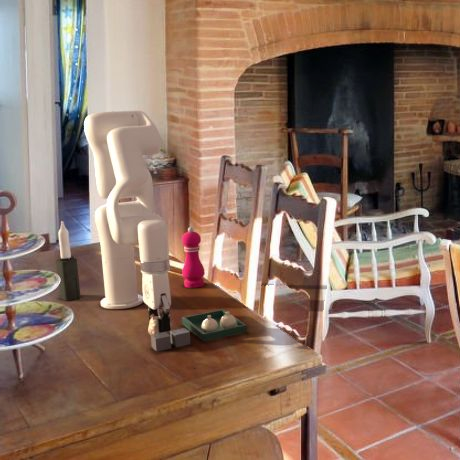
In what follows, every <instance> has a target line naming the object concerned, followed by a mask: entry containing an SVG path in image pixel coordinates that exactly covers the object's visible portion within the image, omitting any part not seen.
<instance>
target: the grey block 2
mask: <svg viewBox="0 0 460 460" xmlns="http://www.w3.org/2000/svg"><path fill="white" fill-rule="evenodd" d="M169 335H170V336H171V345H172V346H174V347H175V348H178V347H183V346H187V345H191V331H190V330H189V329H188V328H186V327H181V328H177V329H171V331H170V333H169Z"/></svg>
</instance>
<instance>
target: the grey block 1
mask: <svg viewBox="0 0 460 460" xmlns="http://www.w3.org/2000/svg"><path fill="white" fill-rule="evenodd" d="M150 342H151V348H152V349H153V350H154V351H155V352H161V351H164V350H170V349H172V343H171V336H170V333H169V334H168V333H166V332H162V333H157V334H152V335H150Z"/></svg>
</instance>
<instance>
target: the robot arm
mask: <svg viewBox="0 0 460 460" xmlns="http://www.w3.org/2000/svg"><path fill="white" fill-rule="evenodd" d="M83 126H84V127H83V128H84V134H85V137H86V140H87V142H88V144H89V146H90V148H91V152H92V154H93V159H94V160H93V162H94V169H95V180H96V188H97V192H98V195H99V197H100V198H101V199H103V200H107V202H106V204H104V205H101V206H100V207H98V208H97V209H96V211H95V213H94V221H95V226H96V230H97V234H98V237H99V238H98V239H99V243H100V253H101V262H102V263H101V264H102V273H103V285H104V296H105V297H104V298H102V299H101V300H100V306H101V308H104V309H107V310H125V309H131V308H134V307H137V306H140V305H142V304H143V303H144V304H145V305H146V306H147V309H148V312H147V313H148V323H150V319H151V318H152V317H150V316H151V315H152V314H153V315H154V316H158V317H159V318H158V332H159V333H162V332H167V331H170V330H172V329H171V327H170V322H171V305H172V297H171V287H170V278H169V273H168V272H169V271H171V263H170V262H171V261H170V248H169V234H168V225H167V222H166V221H165V219H164V218H162V216H161V215H160V214H158V213H156V203H155V191H154V182H153V178H152V175H151V172H150V171H149V169H148V168H147V167H146V162H145V159H144V156H151V155H158V154H159V153H160V152H161V150H162V143H163V142H162V138H161V133H160V132H159V129H158V128H157V125H155V123H154V122H153V120H152V119H151V118H150V116H149V115H148V114H147V113H146V112H145V111H142V110H118V111H114V110H113V111H101V112H100V111H99V112H93V113H91V114H88V115H87V116H86V117H85V119H84V122H83ZM131 198H136V200H134V201H126V202H125V201H124V202H123V201H121V202H120V200H121V199H122V200H123V199H131ZM133 244H138V250H139V264H140V273H141V274H142V276H141V278H142V279H141V283H142V295H141V294H139V290H138V289H139V288H138V279H137V278H138V277H137V267H136V266H137V265H136V255H135V248H134V245H133ZM161 310H162V311H161Z"/></svg>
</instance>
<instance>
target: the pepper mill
mask: <svg viewBox="0 0 460 460" xmlns="http://www.w3.org/2000/svg"><path fill="white" fill-rule="evenodd" d="M201 240H202V237H201V235H200V234H199V232H197V231H194V227H192V226H190V227H188V228H187V232H185V233H184V234H183V235H182V236H181V243H182V244H183V245H184V246H183V251H184V252H185V261H184V264H183V267H182V271H181V274H182V277H183V278H184V281H183V282H184V283H183V284H184V288H188V289H197V288H201V287H203V286H204V285H205V282H204V281H205V280H204V278H203V277H204V276H205V274H206V272H205V267H204V264H203V263H202V261H201V259H200V254H199V251H200V250H201V248H200V247H201V246H200V244H201Z"/></svg>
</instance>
